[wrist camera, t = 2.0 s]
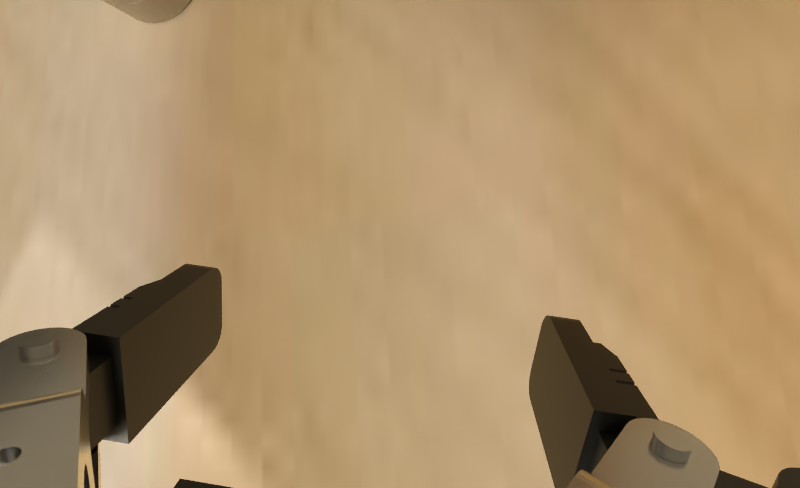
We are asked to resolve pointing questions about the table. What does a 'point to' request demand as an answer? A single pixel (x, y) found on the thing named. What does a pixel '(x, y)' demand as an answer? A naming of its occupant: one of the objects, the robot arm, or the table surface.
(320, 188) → the table surface
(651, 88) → the table surface
